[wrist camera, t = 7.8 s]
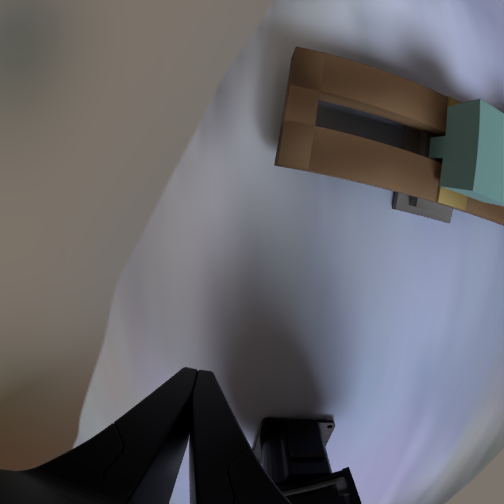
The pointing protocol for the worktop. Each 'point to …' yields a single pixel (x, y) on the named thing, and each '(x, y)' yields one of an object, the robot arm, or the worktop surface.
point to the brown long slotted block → (365, 150)
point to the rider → (472, 151)
